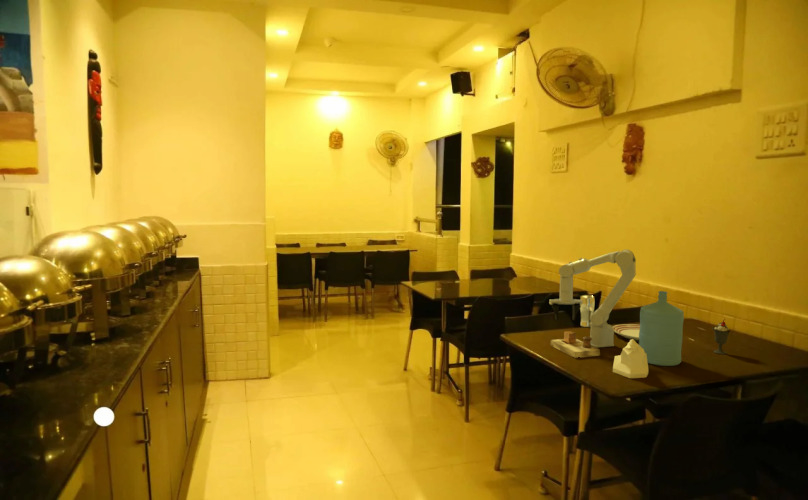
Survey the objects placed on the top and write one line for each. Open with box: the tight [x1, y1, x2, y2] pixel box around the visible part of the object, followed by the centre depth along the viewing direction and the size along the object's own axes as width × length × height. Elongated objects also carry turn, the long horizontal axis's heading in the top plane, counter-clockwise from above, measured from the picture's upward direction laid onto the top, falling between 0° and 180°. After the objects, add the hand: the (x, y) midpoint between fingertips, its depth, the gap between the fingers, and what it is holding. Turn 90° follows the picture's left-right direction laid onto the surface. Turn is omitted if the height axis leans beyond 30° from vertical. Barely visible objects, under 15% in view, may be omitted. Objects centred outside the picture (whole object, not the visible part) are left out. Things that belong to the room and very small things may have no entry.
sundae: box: [712, 318, 732, 355], centre depth 217 cm, size 7×7×15 cm
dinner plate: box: [612, 323, 640, 342], centre depth 242 cm, size 27×27×3 cm
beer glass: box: [579, 294, 596, 328], centre depth 261 cm, size 7×7×15 cm
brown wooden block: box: [563, 330, 577, 344], centre depth 224 cm, size 4×4×7 cm
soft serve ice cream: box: [612, 339, 649, 379], centre depth 192 cm, size 12×15×14 cm
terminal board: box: [550, 336, 601, 359], centre depth 221 cm, size 12×18×6 cm, turn 16°
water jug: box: [638, 290, 685, 367], centre depth 207 cm, size 16×16×28 cm
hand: (565, 319), depth 236 cm, fingers open, 7 cm apart
